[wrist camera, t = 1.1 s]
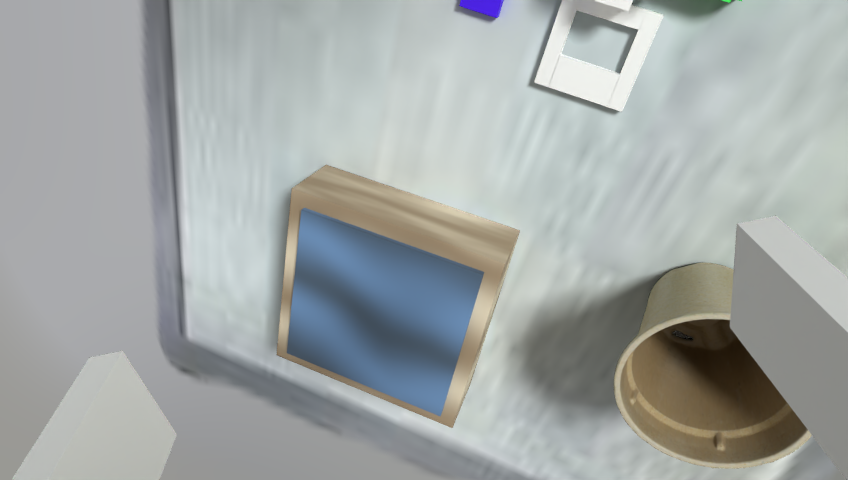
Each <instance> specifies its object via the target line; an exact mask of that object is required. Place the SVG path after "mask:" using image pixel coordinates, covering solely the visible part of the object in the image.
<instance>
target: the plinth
mask: <svg viewBox="0 0 848 480" xmlns="http://www.w3.org/2000/svg"><path fill="white" fill-rule="evenodd" d="M519 232H520V230H517V229H514V228H511V227H508V226H505V225H502V224H499V223H496V222H493V221H490V220H487V219H484V218H481V217H478V216H475V215H473V214H470V213H467V212H464V211H461V210H458V209H455V208H452V207H449V206H446V205H443V204H440V203H437V202H434V201H431V200H428V199H425V198H422V197H420V196H417V195H414V194H411V193H408V192H405V191H402V190H399V189H396V188H393V187H390V186H387V185H384V184H381V183H378V182H375V181H372V180H369V179H367V178H364V177H361V176H358V175H355V174H352V173H349V172H346V171H343V170H340V169H337V168H334V167H331V166H328V165H325V166H324V167H322V168H321V169H319V170H318V171H316V172H315V173H313V174H312V175H311V176H309V177H308V178H306V179H305V180H303V181H302V182H300V183H299V184H298V185H296V186H295V187H293V188H292V191H291V202H290V213H289V224H288V235H287V246H286V257H285V268H284V279H283V290H282V301H281V312H280V323H279V334H278V345H277V355H278V356H280V357H283V358H285V359H287V360H290V361H292V362H295V363H297V364H299V365H302V366H304V367H307V368H309V369H311V370H314V371H316V372H319V373H321V374H324V375H326V376H328V377H331V378H333V379H336V380H338V381H340V382H343V383H345V384H348V385H350V386H352V387H355V388H357V389H360V390H362V391H364V392H367V393H369V394H372V395H374V396H376V397H379V398H381V399H384V400H386V401H388V402H391V403H393V404H396V405H398V406H401V407H403V408H405V409H408V410H410V411H413V412H415V413H417V414H420V415H422V416H425V417H427V418H429V419H432V420H434V421H437V422H439V423H441V424H444V425H446V426H449V427H451V428H453V425H454V423H455V420H456V418H457V415H458V413H459V411H460V408H461V406H462V403H463V401H464V398H465V396H466V393H467V391H468V389H469V386H470V383H471V380H472V377H473V374H474V371H475V368H476V365H477V361H478V358H479V355H480V352H481V349H482V346H483V343H484V340H485V337H486V334H487V331H488V328H489V325H490V322H491V318H492V315H493V312H494V309H495V306H496V303H497V300H498V297H499V294H500V291H501V288H502V285H503V282H504V278H505V275H506V272H507V269H508V266H509V263H510V260H511V257H512V254H513V251H514V248H515V245H516V242H517V239H518V235H519Z"/></svg>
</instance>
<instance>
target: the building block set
mask: <svg viewBox="0 0 848 480" xmlns="http://www.w3.org/2000/svg"><path fill="white" fill-rule="evenodd" d="M722 1H725V2H729V3H730V2H731V0H722ZM739 1H742V0H739ZM632 2H633V0H562V2H561V5H560V8H559V11H558V14H557V17H556V20H555V23H554V26H553V28H552V31H551V34H550V37H549V40H548V43H547V46H546V49H545V52H544V55H543V58H542V61H541V64H540V66H539V69H538V72H537V75H536V78H535V81H534V83H537V84H540V85H543V86H546V87H549V88H552V89H555V90H558V91H561V92H564V93H567V94H570V95H573V96H576V97H579V98H582V99H585V100H588V101H591V102H594V103H597V104H600V105H603V106H606V107H609V108H612V109H615V110H618V111H621V112H622V111H623V108H624V106H625V104H626V101H627V99H628V97H629V94H630V92H631V90H632V88H633V85H634V83H635V81H636V78H637V76H638V74H639V71H640V69H641V67H642V64H643V62H644V60H645V57H646V55H647V53H648V51H649V48H650V46H651V44H652V41H653V39H654V37H655V34H656V32H657V30H658V27H659V25H660V23H661V21H662V18H663V16H664V15H663V14H661V13H657V12H654V11H651V10H647V9H644V8H641V7H638V6H635V5H631V4H632ZM502 3H503V0H461V1H460V5H459V6H461V7H464V8H467V9H470V10H473V11H476V12H479V13H483V14H486V15H489V16H492V17H495V18H497V17H499V14H500V10H501V7H502ZM577 11H580V12H583V13H586V14H589V15H593V16H596V17H599V18H602V19H606V20H609V21H612V22H615V23H618V24H622V25H625V26H628V27H631V28H635V29H638V32H637V34H636V36H635V39H634V41H633V44H632V46H631V48H630V51H629V53H628V56H627V58H626V60H625V63H624V65H623V68H622V70H621V72H620V73H618V72H615V71H612V70H609V69H606V68H603V67H600V66H597V65H594V64H590V63H587V62H584V61H581V60H578V59H575V58H572V57H569V56H566V55H563V54H562V51H563V48H564V45H565V43H566V40H567V37H568V34H569V31H570V29H571V26H572V23H573V20H574V17H575V15H576V12H577Z"/></svg>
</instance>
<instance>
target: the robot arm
mask: <svg viewBox="0 0 848 480" xmlns="http://www.w3.org/2000/svg"><path fill="white" fill-rule="evenodd" d="M730 328H731V330H732V331H733V332H734V334H735V335H736V336H737V337H738V339H739V340H740V341H741V343H742V344H743V345H744V347H745V348H746V349H747V351H748V352H749V353H750V355H751V356H752V357H753V358H754V360H755V361H756V362H757V364H758V365H759V366H760V368H761V369H762V370H763V372H764V373H765V374H766V375H767V377H768V378H769V379H770V381H771V382H772V383H773V385H774V386H775V387H776V389H777V390H778V391H779V393H780V394H781V395H782V396H783V398H784V399H785V400H786V402H787V403H788V404H789V406H790V407H791V408H792V410H793V411H794V412H795V413H796V415H797V416H798V417H799V419H800V420H801V421H802V423H803V424H804V425H805V427H806V428H807V429H808V431H809V432H810V433H811V434H812V436H813V437H814V438H815V440H816V441H817V442H818V444H819V445H820V446H821V448H822V449H823V450H824V452H825V453H826V454H827V455H828V457H829V458H830V459H831V461H832V462H833V463H834V465H835V466H836V467H837V469H838V470H839V471H840V472H841V474H842V475H843V476H844V478H845V479H846V480H848V278H847V277H846V276H845V275H844V274H843V273H842V272H841V271H839V270H838V269H837V268H836V267H835V266H834V265H832V264H831V263H830V262H829V261H828V260H827V259H825V258H824V257H823V256H822V255H821V254H820V253H819V252H817V251H816V250H815V249H814V248H813V247H812V246H810V245H809V244H808V243H807V242H806V241H805V240H803V239H802V238H801V237H800V236H799V235H798V234H797V233H795V232H794V231H793V230H792V229H791V228H790V227H788V226H787V225H786V224H785V223H784V222H783V221H781V220H780V219H779V218H778V217H777V216H771V217H766V218H762V219H757V220H752V221H747V222H742V223H737V230H736V244H735V258H734V272H733V286H732V301H731V315H730ZM176 436H177V434H176V432H175V431H174V429H173V428H172V426H171V424H170V423H169V421H168V420H167V418H166V417H165V415H164V414H163V412H162V411H161V409H160V408H159V406H158V404H157V403H156V401H155V400H154V398H153V397H152V396H151V394H150V392H149V391H148V389H147V388H146V386H145V385H144V383H143V381H142V380H141V378H140V377H139V375H138V374H137V372H136V371H135V369H134V368H133V366H132V364H131V363H130V361H129V360H128V358H127V357H126V355H125V354H124V352H123V351H118V352H113V353H109V354H104V355H99V356H94V357H89V359H88V360H87V362H86V363H85V365H84V367H83V368H82V370H81V371H80V373H79V374H78V376H77V378H76V379H75V381H74V383H73V384H72V386H71V387H70V389H69V390H68V392H67V394H66V395H65V397H64V398H63V400H62V401H61V403H60V404H59V406H58V408H57V409H56V411H55V412H54V414H53V416H52V417H51V419H50V420H49V422H48V423H47V425H46V427H45V428H44V430H43V431H42V433H41V434H40V436H39V438H38V439H37V441H36V442H35V444H34V445H33V447H32V449H31V450H30V452H29V453H28V455H27V457H26V458H25V460H24V461H23V463H22V464H21V466H20V468H19V469H18V471H17V472H16V474H15V476H14V477H13V479H12V480H160V478H161V475H162V472H163V470H164V467H165V465H166V462H167V460H168V457H169V454H170V452H171V449H172V447H173V444H174V441H175V439H176Z"/></svg>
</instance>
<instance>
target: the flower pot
mask: <svg viewBox="0 0 848 480" xmlns="http://www.w3.org/2000/svg"><path fill="white" fill-rule="evenodd" d="M733 272H734V270H733V269H731V268H728V267H726V266H722V265H718V264H713V263H696V264H692V265H688V266H685V267H681V268H677V269H673V270H671V271H669V272H668V273H666V274H665V275H664V276H663V277H661V278H660V279H659V280H658V281H657V283H656V284H655V285H654V287H653V288H652V290H651V292H650V295H649V299H648V303H647V307H646V310H645V314H644V317H643V320H642V323H641V326H640V330H639V333H638V335H637V336H636V337H635V338H634V339H633V340H632V341H631V342H630V343H629V344H628V346H627V347H626V348H625V350H624V351H623V353H622V354H621V356H620V358H619V360H618V363H617V366H616V370H615V374H614V394H615V399H616V403H617V406H618V408H619V410H620V413H621V415H622V416H623V418H624V420H625V421H626V422H627V424H628V425H629V426H630V427H631V428H632V430H633V431H634V432H635V433H636V434H637V435H638V436H639V437H640V438H642V439H643V440H644V441H646V442H647V443H649V444H650V445H651V446H652V447H654V448H655V449H658V450H660V451H661V452H663V453H665V454H667V455H669V456H671V457H674V458H677V459H679V460H682V461H685V462H688V463H692V464H695V465H700V466H706V467H711V468H727V469H728V468H737V469H738V468H746V467H753V466H758V465H762V464H765V463H770V462H774V461H776V460H778V459H780V458H783V457H785V456H786V455H789V454H790V453H792V452H794V451H795V450H797V449H798V448H799V447H800V446H802V445H803V444H804V443H805V442H807V441H808V440H809V438H810V437H811V436H812V434H811V433H810V432H809V431H808V429H807V428H806V427H805V425H804V424H803V423H802V421H801V420H800V419H799V417H798V416H797V415H796V413H795V412H794V411H793V410H792V408H791V407H790V406H789V404H788V403H787V402H786V400H785V399H784V398H783V396H782V395H781V394H780V393H779V391H778V390H777V389H776V387H775V386H774V385H773V383H772V382H771V381H770V379H769V378H768V377H767V375H766V374H765V373H764V372H763V370H762V369H761V368H760V366H759V365H758V364H757V362H756V361H755V360H754V358H753V357H752V356H751V355H750V353H749V352H748V351H747V349H746V348H745V347H744V345H743V344H742V343H741V341H740V340H739V339H738V337H737V336H736V335H735V334H734V332H733V331H732V330H731V328H730V315H731V301H732V286H733ZM677 330H678V331H680V332H682V333H683V334H685V335H688V336H691V337H693V340H689V339H683V338H681V337H677V336H675V335H674V334H673V332H674V331H677Z"/></svg>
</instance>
